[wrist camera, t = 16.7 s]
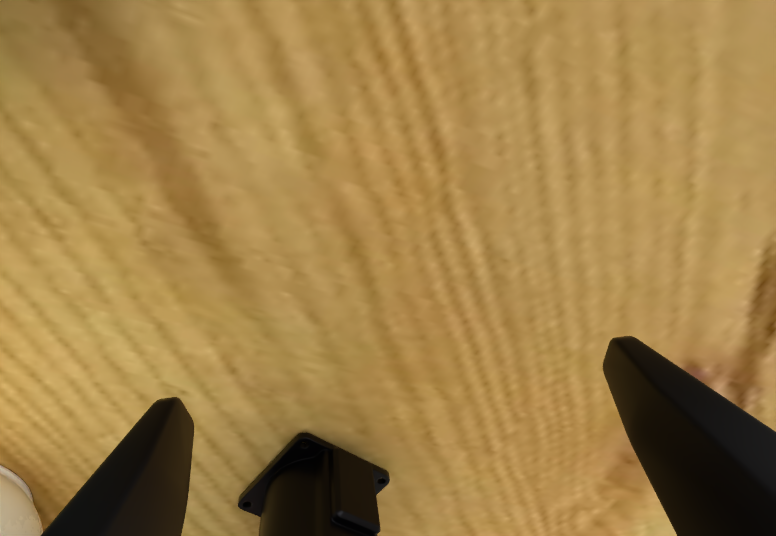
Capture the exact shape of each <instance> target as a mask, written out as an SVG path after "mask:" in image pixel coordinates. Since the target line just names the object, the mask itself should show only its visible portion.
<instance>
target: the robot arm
mask: <svg viewBox="0 0 776 536" xmlns="http://www.w3.org/2000/svg"><path fill="white" fill-rule="evenodd" d="M603 371H604V375H605V378H606V380H607V383H608V385H609V388H610V391H611V393H612V396H613V399H614V401H615V404H616V407H617V409H618V412H619V415H620V417H621V420H622V423H623V425H624V428H625V431H626V433H627V435H628V438H629V440H630V442H631V445H632V447H633V449H634V451H635V453H636V455H637V457H638V459H639V461H640V463H641V465H642V467H643V469H644V471H645V473H646V475H647V477H648V479H649V481H650V483H651V485H652V486H653V488H654V490H655V492H656V494H657V496H658V498H659V500H660V502H661V504H662V506H663V508H664V510H665V512H666V514H667V516H668V518H669V520H670V522H671V524H672V526H673V528H674V530H675V532H676V534H677V536H776V432H775V431H774V430H772V429H771V428H769V427H768V426H766V425H765V424H763V423H762V422H760V421H759V420H757V419H756V418H754V417H753V416H751V415H750V414H748V413H747V412H745V411H744V410H742V409H741V408H739V407H738V406H736V405H735V404H733V403H732V402H730V401H729V400H727V399H726V398H724V397H723V396H721V395H720V394H718V393H717V392H715V391H714V390H713V389H711V388H710V387H708V386H707V385H705V384H704V383H702V382H701V381H699V380H698V379H696V378H695V377H693V376H692V375H690V374H689V373H687V372H686V371H684V370H683V369H681V368H680V367H678V366H677V365H675V364H674V363H672V362H671V361H669V360H668V359H666V358H665V357H663V356H662V355H660V354H659V353H657V352H656V351H654V350H653V349H651V348H650V347H648V346H647V345H646V344H644V343H643V342H641V341H640V340H638V339H636V338H635V337H632V336H624V337H617V338H613V339H612V340H611V341H610V343H609V346H608V349H607V352H606V355H605V358H604V362H603ZM193 437H194V423H193V420H192V418H191V416H190V414H189V413H188V411H187V409H186V408H185V406H184V404H183V403H182V401H181V400H180V399H179V398H177V397H172V398H165V399H160V400H157V401H156V402H155V403H154V404H153V405H152V406H151V407H150V408H149V409H148V410H147V412H146V413H145V414H144V415H143V416H142V417H141V419H140V420H139V421H138V422H137V423H136V424H135V426H134V427H133V428H132V429H131V430H130V431H129V433H128V434H127V435H126V436H125V437H124V439H123V440H122V441H121V442H120V443H119V444H118V446H117V447H116V448H115V449H114V450H113V451H112V453H111V454H110V455H109V456H108V457H107V458H106V460H105V461H104V462H103V463H102V464H101V465H100V467H99V468H98V469H97V470H96V471H95V472H94V474H93V475H92V476H91V477H90V478H89V479H88V481H87V482H86V483H85V484H84V485H83V486H82V488H81V489H80V490H79V491H78V492H77V493H76V495H75V496H74V497H73V498H72V499H71V500H70V502H69V503H68V504H67V505H66V506H65V508H64V509H63V510H62V511H61V512H60V513H59V515H58V516H57V517H56V518H55V519H54V520H53V522H52V523H51V524H50V525H49V526H48V527H47V529H46V530H45V531H44V532H43V533H42V534H41V536H181V533H182V528H183V523H184V518H185V513H186V507H187V500H188V492H189V481H190V470H191V459H192V448H193ZM303 441H306V442H305V443H303ZM389 481H390V479H389V473H388V472H387V471H386V470H384V469H382V468H380V467H378V466H376V465H374V464H372V463H370V462H368V461H365V460H363V459H361V458H359V457H357V456H355V455H353V454H351V453H349V452H347V451H345V450H343V449H341V448H339V447H337V446H335V445H333V444H330V443H328V442H326V441H324V440H322V439H320V438H318V437H316V436H314V435H312V434H310V433H307V432H306V433H300V434H298V435H297V436H296V437H295V438H294V439H293V440H292V441H291V442H290V443H289V444H288V446H287V447H286V448H285V449H284V450H283V451H282V452H281V453H280V454H279V455H278V456H277V457H276V458H275V459H274V460H273V461H272V463H271V464H270V465H269V466H268V467H267V468H266V469H265V470H264V471H263V472H262V473H261V474H260V475H259V476H258V477H257V479H256V480H255V481H254V482H253V483H252V484H251V485H250V486H249V487H248V488H247V489H246V490H245V491H244V492H243V493H242V494H241V496H240V497H239V502H238V507H239V508H240V509H242V510H244V511H247V512H249V513H252V514H255V515H257V516H260V517H261V520H260V529H259V536H377V534H378V533H379V532H380V522H379V514H378V507H377V499H376V495H377V494H378V493H379V492H380V491H381V490H382V489H383V488H384V487H385V486H386V485H387V484H388V483H389Z"/></svg>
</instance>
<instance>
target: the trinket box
mask: <svg viewBox="0 0 776 536" xmlns="http://www.w3.org/2000/svg"><path fill="white" fill-rule="evenodd" d="M42 533H43V528H42V523H41V519H40V517H39V515H38V512H37V510H36V508H35V506H34V504H33V497H32V494H31V491H30V489H29V488H28V486H27V485H26V484H25V482H24V481H23V480H22V479H21V478H20V477H19V476H17V475H16V474H15V473H13V472H12V471H10V470H8V469H7V468H5V467H3V466H1V465H0V536H41V534H42Z"/></svg>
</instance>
